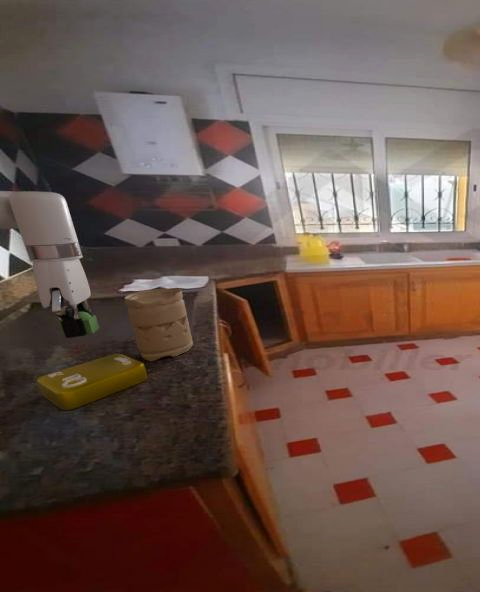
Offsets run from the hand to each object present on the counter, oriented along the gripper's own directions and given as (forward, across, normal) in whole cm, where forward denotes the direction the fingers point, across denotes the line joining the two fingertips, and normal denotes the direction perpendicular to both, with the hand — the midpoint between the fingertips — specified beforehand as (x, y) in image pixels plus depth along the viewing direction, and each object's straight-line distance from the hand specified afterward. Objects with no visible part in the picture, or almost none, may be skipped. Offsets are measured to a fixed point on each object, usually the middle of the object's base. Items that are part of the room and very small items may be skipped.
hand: (81, 332), depth 72 cm
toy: (0, 0, 0) cm, 0 cm away
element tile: (+14, 0, 0) cm, 14 cm away
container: (+14, -16, +11) cm, 24 cm away
